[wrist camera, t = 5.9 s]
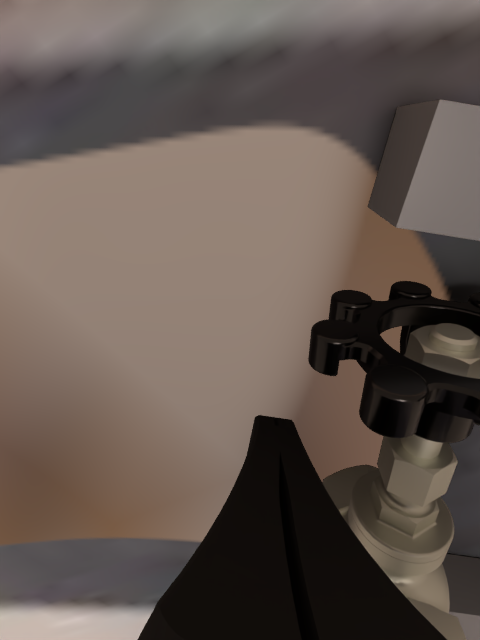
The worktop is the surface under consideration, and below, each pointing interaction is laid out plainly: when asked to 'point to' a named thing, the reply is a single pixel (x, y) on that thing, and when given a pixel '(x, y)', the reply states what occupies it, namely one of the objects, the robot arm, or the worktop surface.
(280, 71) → the worktop surface
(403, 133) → the chassis bay
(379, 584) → the robot arm
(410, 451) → the valve
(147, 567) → the worktop surface
